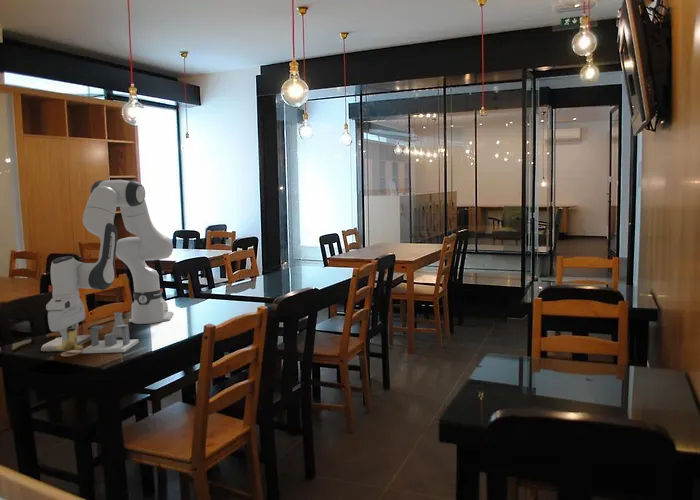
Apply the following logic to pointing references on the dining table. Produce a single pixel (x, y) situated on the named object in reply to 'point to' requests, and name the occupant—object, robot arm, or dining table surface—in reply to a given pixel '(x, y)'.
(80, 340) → the washcloth
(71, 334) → the bayonet cap
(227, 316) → the dining table surface
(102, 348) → the white peg board
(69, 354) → the cork coaster
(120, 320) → the flask
